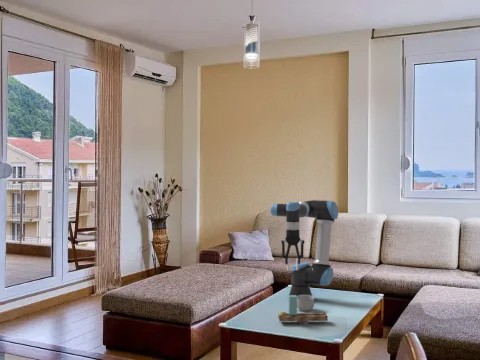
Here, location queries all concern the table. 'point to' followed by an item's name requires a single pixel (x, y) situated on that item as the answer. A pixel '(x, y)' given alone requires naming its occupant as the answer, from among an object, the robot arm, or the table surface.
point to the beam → (302, 317)
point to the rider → (292, 305)
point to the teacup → (305, 302)
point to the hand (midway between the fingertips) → (292, 269)
